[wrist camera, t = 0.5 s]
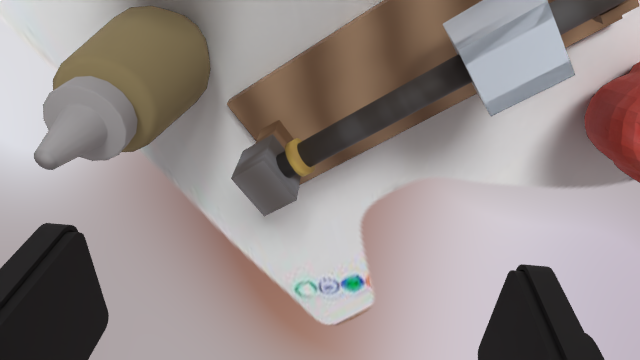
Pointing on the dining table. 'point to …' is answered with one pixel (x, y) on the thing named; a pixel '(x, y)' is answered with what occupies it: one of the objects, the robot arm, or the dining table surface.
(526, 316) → the robot arm
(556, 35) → the sleeve
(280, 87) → the rod stand
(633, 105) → the vegetable
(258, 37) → the dining table surface
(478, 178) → the dining table surface
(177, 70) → the squeeze bottle
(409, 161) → the dining table surface
